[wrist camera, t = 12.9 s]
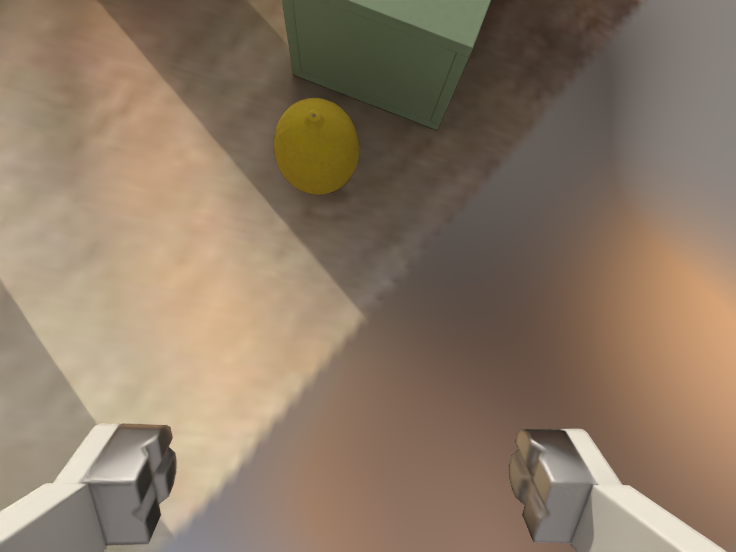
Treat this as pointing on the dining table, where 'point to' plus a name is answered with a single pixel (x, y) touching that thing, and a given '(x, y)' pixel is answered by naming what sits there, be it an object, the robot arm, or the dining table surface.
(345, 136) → the lemon
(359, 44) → the cabinet
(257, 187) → the dining table surface
